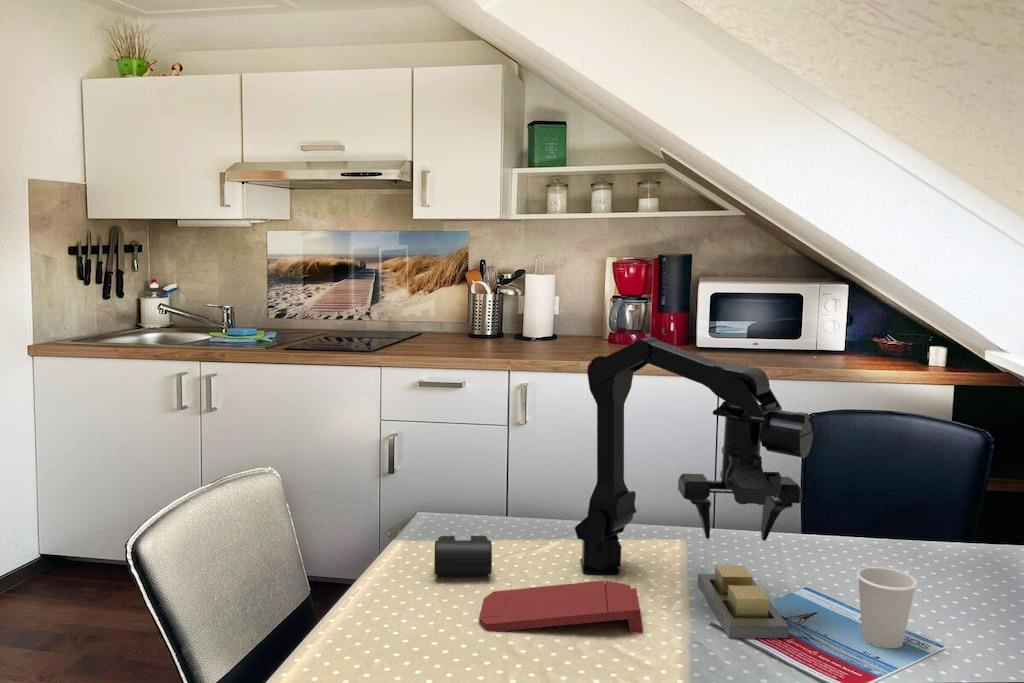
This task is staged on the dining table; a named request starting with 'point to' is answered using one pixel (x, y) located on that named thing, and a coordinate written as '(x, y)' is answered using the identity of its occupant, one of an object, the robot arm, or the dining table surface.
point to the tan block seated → (731, 577)
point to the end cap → (463, 557)
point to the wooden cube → (747, 602)
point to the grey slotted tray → (740, 626)
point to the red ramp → (561, 606)
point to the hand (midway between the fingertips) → (735, 538)
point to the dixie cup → (885, 605)
